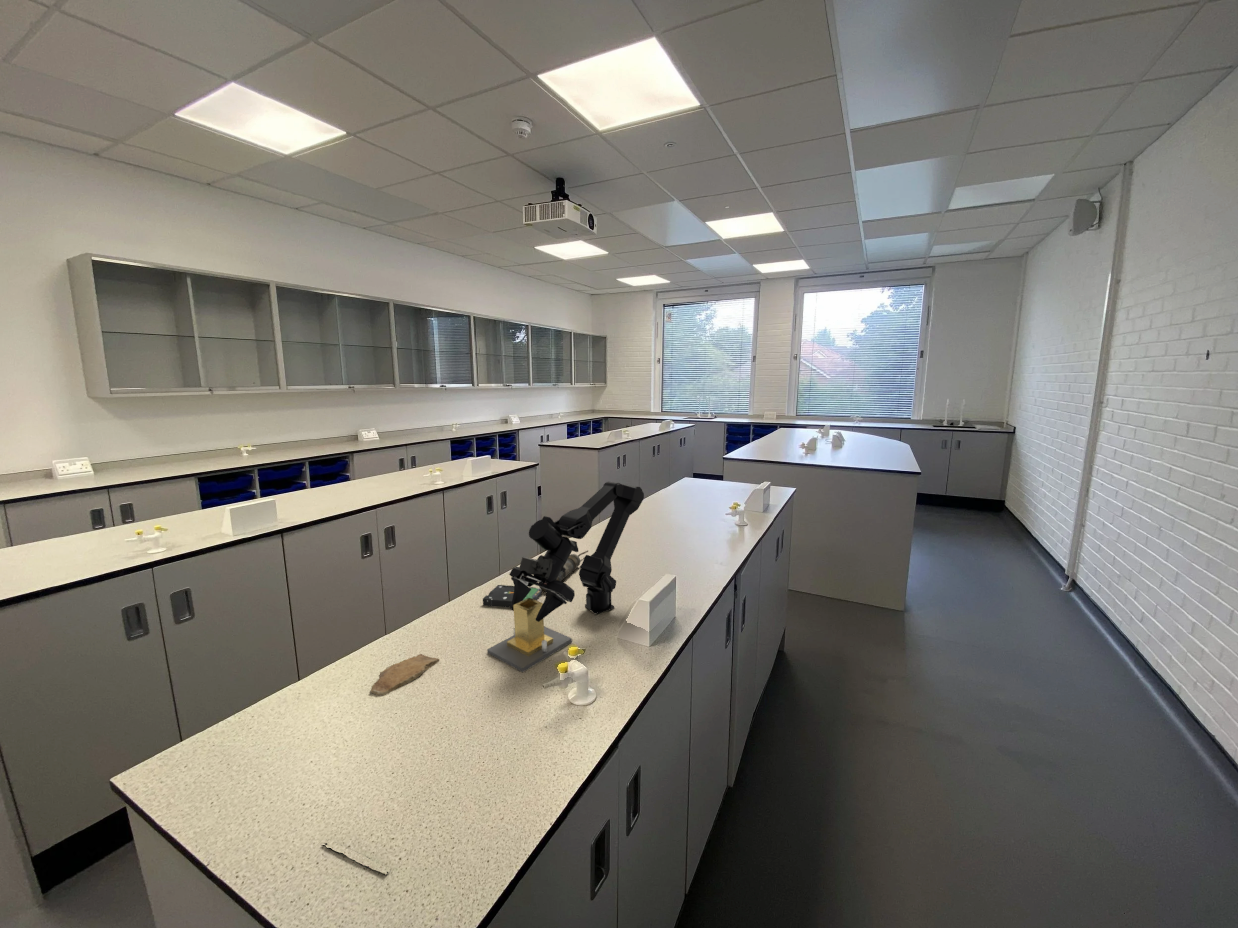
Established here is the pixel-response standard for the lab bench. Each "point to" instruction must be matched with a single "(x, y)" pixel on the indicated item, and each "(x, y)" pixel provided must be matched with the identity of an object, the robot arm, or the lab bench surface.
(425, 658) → the pottery shard
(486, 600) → the disk drive
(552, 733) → the lab bench surface
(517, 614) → the brass sleeve
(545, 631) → the base plate
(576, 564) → the bomb
